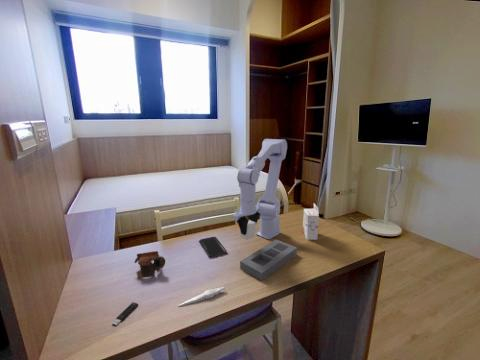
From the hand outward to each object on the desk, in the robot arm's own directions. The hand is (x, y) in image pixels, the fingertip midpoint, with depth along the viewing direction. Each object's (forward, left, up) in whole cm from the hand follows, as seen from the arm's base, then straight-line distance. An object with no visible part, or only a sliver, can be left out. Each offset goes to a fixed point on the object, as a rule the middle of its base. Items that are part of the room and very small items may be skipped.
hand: (247, 231), depth 96 cm
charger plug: (0, 0, -2) cm, 2 cm away
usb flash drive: (+47, -4, -10) cm, 48 cm away
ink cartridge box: (-30, +11, -9) cm, 33 cm away
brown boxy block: (+33, -18, -9) cm, 38 cm away
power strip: (-1, +10, -9) cm, 14 cm away
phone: (+7, -14, -10) cm, 18 cm away
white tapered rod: (+29, +7, -10) cm, 31 cm away
